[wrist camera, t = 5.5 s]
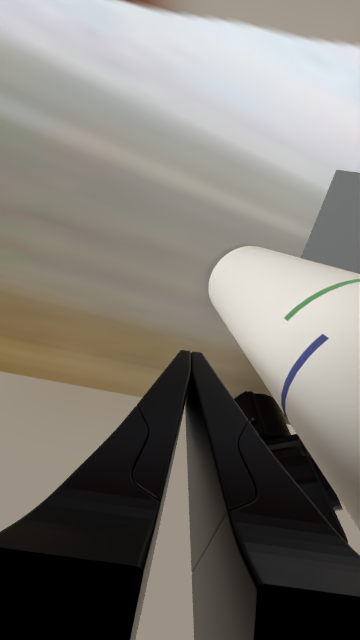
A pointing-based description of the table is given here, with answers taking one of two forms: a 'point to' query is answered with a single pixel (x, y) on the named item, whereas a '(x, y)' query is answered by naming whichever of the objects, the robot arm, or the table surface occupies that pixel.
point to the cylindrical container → (301, 350)
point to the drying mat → (338, 225)
